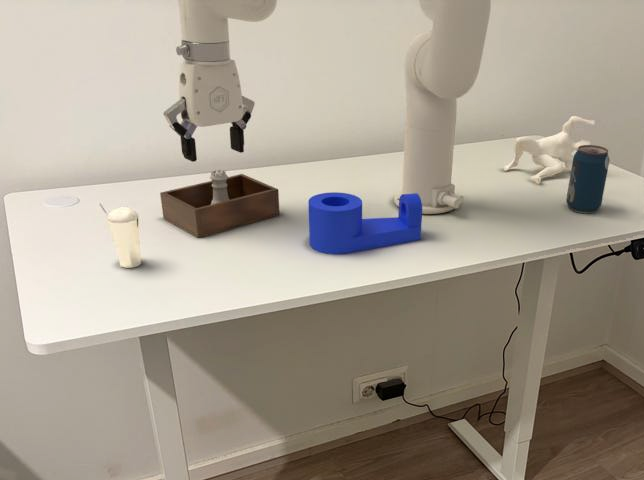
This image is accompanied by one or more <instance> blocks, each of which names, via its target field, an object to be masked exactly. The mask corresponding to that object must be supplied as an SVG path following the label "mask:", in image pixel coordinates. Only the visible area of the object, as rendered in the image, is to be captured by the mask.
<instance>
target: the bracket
mask: <svg viewBox="0 0 644 480" xmlns="http://www.w3.org/2000/svg"><path fill="white" fill-rule="evenodd" d="M307 203H308V205H307V206H308V237H309V238H308V240H309V241H308V242H309V243H308V244H309V246H310V248H311V249H313V250H314V251H316V252H320V253H322V254H328V255H343V254H350V253H355V252H362V251H367V250H372V249H376V248H378V249H379V248H383V247H388V246H392V245H393V246H394V245H398V244H403V243H409V242H414V241H415V242H416V241H421V239H422V238H421V237H422V221H423V214H422V202H421V199H420V196H419V195H418V194H417V193H413V194H402V195H401V196H400V199H399V207H398V217H397V216H396V217H374V218H363V200H362V199H361V197H359V196H357V195H355V194H352V193H351V194H350V193H348V192H347V193H346V192H337V191H335V192H334V191H332V192H323V193H318V194H315V195H312V196H311V197H309V199H308V202H307Z"/></svg>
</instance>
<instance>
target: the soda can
mask: <svg viewBox="0 0 644 480" xmlns="http://www.w3.org/2000/svg"><path fill="white" fill-rule="evenodd" d="M609 166H610V156H609V149H607V148H606V147H604V146H600V145H594V144H592V145H582V146H579V147H578V150H576V152H575V153H574V154H573V163H572V169H571V171H570V175H569V181H568V185H567V186H568V187H567V193H566V199H565V200H566V201H565V202H566V204H567V207H568V209H570V210H571V211H573V212H575V213H578V214H594V213H596V212H597V211H598V210H599V208H600V207H601V206H602V203H603V197H604V192H605V186H606V181H607V177H608V170H609Z"/></svg>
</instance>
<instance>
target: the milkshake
mask: <svg viewBox="0 0 644 480" xmlns="http://www.w3.org/2000/svg"><path fill="white" fill-rule="evenodd" d="M99 206H100V208H101V209H102V211H103V212H104V214H105V215H106V220H107V222H108V225H109V229H110V232H111V233H110V234H111V236H112V239H113V242H114V247H115V249H116V255H117V258H118V262H119V266H120V267H122V268H125V269H132V268H136V267H139V266H140V265H141V264H142V256H141V244H140V223H139V213H138V212H137V211H136V210H134V209H133V208H132V207H128V206H127V207H126V206H121V207H118V208H114V209H112V210H111V211H110V212H109V213H107V211H106V209H105V207H103V205H102V203H99Z"/></svg>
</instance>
